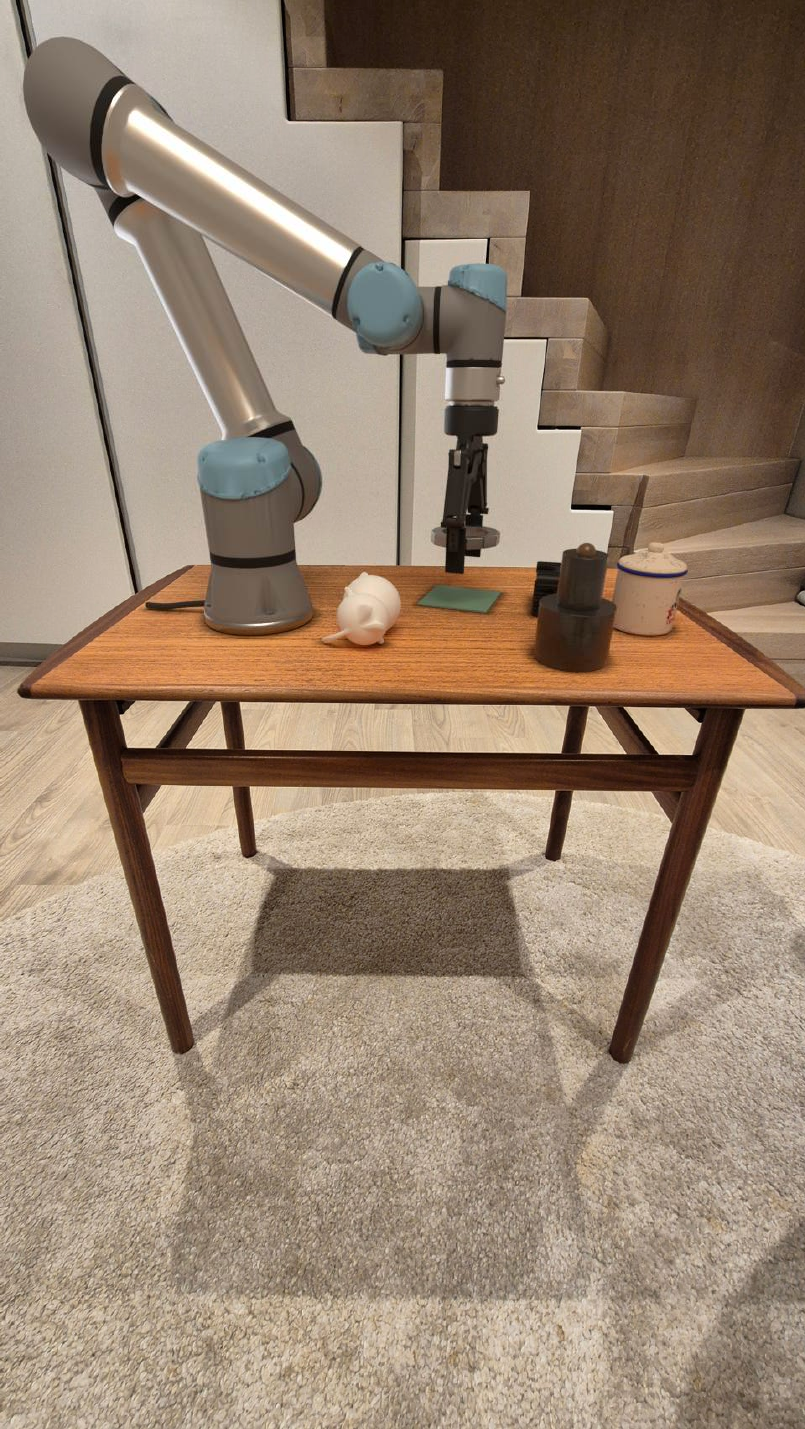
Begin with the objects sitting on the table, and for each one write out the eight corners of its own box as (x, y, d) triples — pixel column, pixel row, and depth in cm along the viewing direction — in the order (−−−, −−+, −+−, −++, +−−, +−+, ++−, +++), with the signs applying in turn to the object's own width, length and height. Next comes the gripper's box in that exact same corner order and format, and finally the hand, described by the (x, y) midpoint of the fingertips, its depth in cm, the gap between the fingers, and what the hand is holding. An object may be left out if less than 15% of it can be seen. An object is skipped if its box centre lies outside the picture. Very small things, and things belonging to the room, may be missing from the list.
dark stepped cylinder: (528, 666, 73) (542, 548, 66) (538, 640, 80) (552, 532, 74) (604, 677, 70) (627, 555, 63) (608, 649, 78) (629, 538, 71)
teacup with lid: (680, 639, 81) (701, 553, 76) (610, 634, 83) (626, 549, 77) (661, 611, 92) (679, 533, 86) (600, 607, 93) (614, 531, 87)
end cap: (581, 621, 87) (588, 575, 84) (531, 617, 88) (537, 572, 85) (577, 601, 96) (584, 558, 93) (532, 597, 97) (537, 555, 94)
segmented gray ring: (423, 546, 89) (423, 535, 88) (442, 533, 98) (442, 523, 97) (490, 552, 86) (491, 540, 85) (504, 537, 95) (505, 527, 94)
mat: (417, 605, 93) (417, 603, 93) (437, 586, 102) (437, 584, 102) (486, 613, 90) (486, 611, 90) (501, 593, 99) (501, 591, 99)
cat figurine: (364, 581, 70) (384, 554, 81) (295, 622, 75) (322, 591, 85) (403, 642, 73) (417, 608, 84) (335, 678, 78) (356, 641, 88)
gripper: (479, 405, 72) (469, 585, 83) (513, 403, 91) (501, 550, 102) (420, 405, 75) (417, 580, 85) (465, 402, 93) (458, 546, 104)
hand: (463, 564), depth 93 cm, fingers closed on segmented gray ring, 10 cm apart
